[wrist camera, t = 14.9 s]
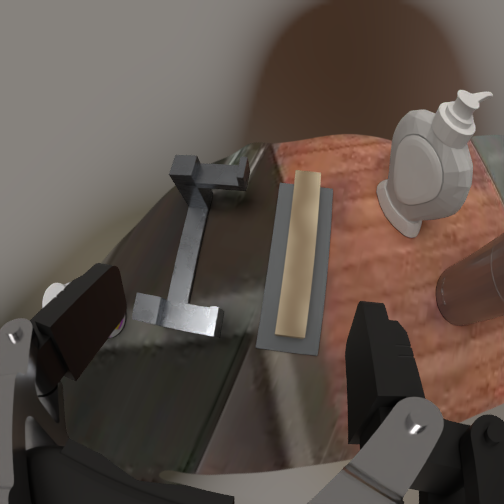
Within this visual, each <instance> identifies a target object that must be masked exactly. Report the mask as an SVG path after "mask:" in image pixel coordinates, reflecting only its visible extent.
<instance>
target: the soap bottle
mask: <svg viewBox="0 0 504 504" xmlns="http://www.w3.org/2000/svg"><path fill="white" fill-rule="evenodd" d="M492 96H493V95H492V94H491V92H480V93H475V94H471V93H469V92H467V91H464V90H459V91H458V97H457V99H456V101H455V102H454V101H453V102H446V103H445V102H444V103H442V104H441V105H440V106H439V108H438V110H437V112H436V114H435V113H433V112H430V111H427V110H414V111H410V112H409V113H408V114H406V115H405V116H404V117H403V118H402V119H401V121H400V122H399V124H398V125H397V128H396V130H395V132H394V135H393V140H392V147H391V156H390V166H389V175H388V179H387V180H384V181H382V182H380V183H379V185H378V186H377V192H376V193H377V196H378V200H379V203H380V206H381V208H382V210H383V212H384V214H385V216H386V217H387V219H388V220H389V221H390V222H391V223H392V225H393V226H394V227H395V228H396V229H397V230H399V231H400V232H401V233H402V234H403V235H404V236H407V237H410V238H413V237H416V236H417V235H418V233H419V231H420V227H421V224H422V220H434V219H440V218H445V217H449V216H451V215H453V214H455V213H456V212H457V211H458V210H459V209H460V208H461V207H462V205H463V204H464V202H465V200H466V198H467V195H468V192H469V190H470V187H471V185H472V171H473V164H472V160H471V156H470V153H469V149H468V145H467V142H468V141H469V140H470V138H471V137H472V135H473V134H474V132H475V124H474V121H473V116H472V113H473V112H474V110H475V109H478V108H479V103H480V102H482V101H483V100H485V99H489V98H491V97H492Z"/></svg>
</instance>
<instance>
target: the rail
mask: <svg viewBox="0 0 504 504" xmlns="http://www.w3.org/2000/svg"><path fill="white" fill-rule="evenodd" d="M320 180H321V173H317V172H308V171H299V170H296V173H295V183H294V192H293V201H292V209H291V218H290V226H289V235H288V243H287V250H286V258H285V266H284V273H283V281H282V288H281V295H280V302H279V309H278V316H277V323H276V330H275V335H276V336H283V337H290V338H299V339H303V338H305V333H306V326H307V318H308V310H309V302H310V294H311V285H312V276H313V267H314V257H315V246H316V235H317V223H318V210H319V196H320Z"/></svg>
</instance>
